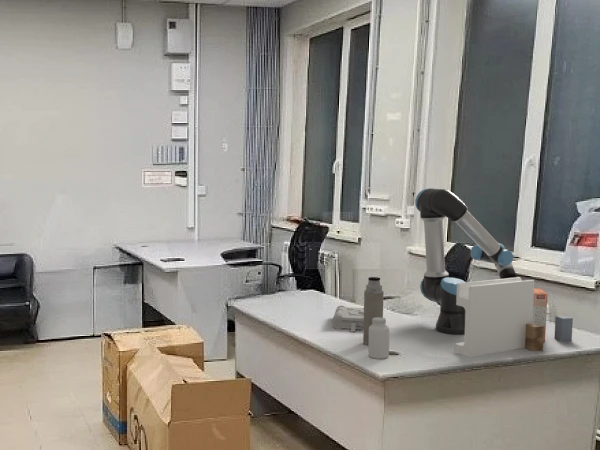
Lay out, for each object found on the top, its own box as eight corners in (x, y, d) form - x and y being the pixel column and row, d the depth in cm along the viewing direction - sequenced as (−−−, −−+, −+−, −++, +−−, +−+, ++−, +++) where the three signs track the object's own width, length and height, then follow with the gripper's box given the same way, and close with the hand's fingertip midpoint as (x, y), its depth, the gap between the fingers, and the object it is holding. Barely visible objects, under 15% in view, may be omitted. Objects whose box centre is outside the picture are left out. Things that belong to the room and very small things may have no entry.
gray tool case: (330, 332, 276) (330, 315, 275) (335, 317, 304) (336, 302, 303) (373, 335, 273) (374, 318, 273) (374, 320, 301) (375, 305, 300)
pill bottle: (366, 353, 242) (367, 316, 241) (386, 353, 243) (387, 316, 242) (370, 359, 234) (371, 321, 233) (390, 359, 235) (391, 321, 234)
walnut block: (531, 351, 249) (532, 326, 248) (525, 347, 254) (526, 323, 253) (543, 350, 250) (544, 326, 249) (536, 347, 255) (537, 323, 254)
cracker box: (546, 341, 263) (548, 293, 261) (531, 341, 264) (533, 293, 263) (539, 333, 277) (542, 288, 275) (525, 332, 278) (527, 287, 276)
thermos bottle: (365, 340, 262) (367, 275, 260) (383, 342, 259) (385, 276, 257) (361, 344, 254) (362, 278, 252) (380, 347, 252) (381, 279, 250)
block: (468, 357, 239) (471, 286, 237) (454, 351, 246) (456, 283, 244) (531, 346, 256) (534, 280, 254) (516, 341, 263) (518, 277, 261)
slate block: (561, 341, 264) (562, 318, 264) (554, 338, 269) (555, 315, 269) (571, 340, 265) (572, 318, 264) (564, 337, 270) (565, 315, 269)
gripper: (515, 275, 301) (533, 317, 286) (491, 276, 298) (507, 318, 284) (521, 266, 295) (540, 308, 280) (496, 267, 293) (513, 309, 278)
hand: (523, 313), depth 282 cm, fingers closed
